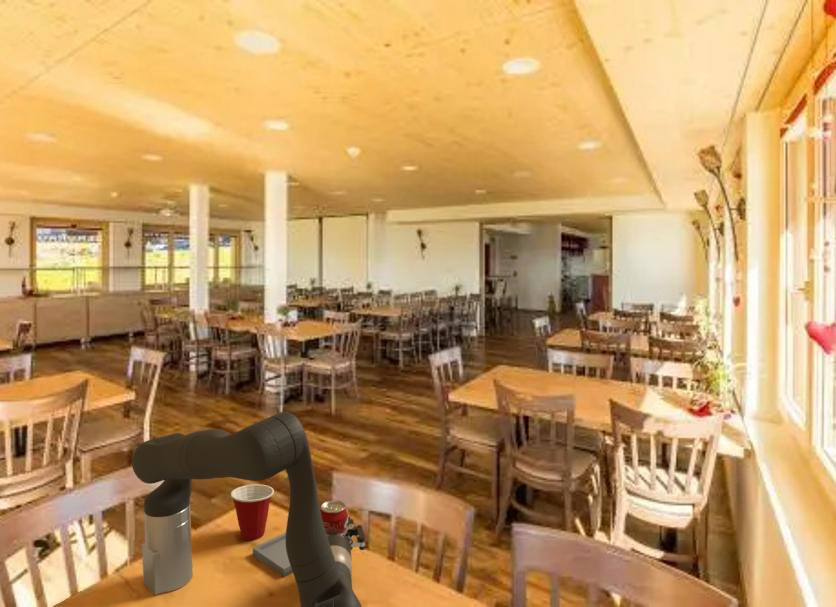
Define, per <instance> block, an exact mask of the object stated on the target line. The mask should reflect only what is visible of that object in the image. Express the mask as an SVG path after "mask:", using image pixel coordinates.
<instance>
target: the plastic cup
mask: <svg viewBox="0 0 836 607" xmlns="http://www.w3.org/2000/svg"><path fill="white" fill-rule="evenodd" d="M274 494H275V490H274V488H273V487H271V486H269V485H265V484H255V483H254V484H246V485H243V486H238V487H236V488H234V489H232V491H231V492H230V495H231V496H230V497H231V498H232V501H233V504H234V508H235V512H236V518H237V523H238V527H239V530H240V536H241V538H242V540H245V541H255V540H258V539H261V537H263V536H264V535H265V532H266V528H267V527H266V525H267V521H268V516H269V515H268V514H269V510H270V503H271V499H272V498H273V497H272V496H273V495H274Z"/></svg>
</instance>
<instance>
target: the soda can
mask: <svg viewBox="0 0 836 607" xmlns="http://www.w3.org/2000/svg"><path fill="white" fill-rule="evenodd" d="M345 503H346V502H343V501H341V500H328V501H325V502H323V503H322V504H321V505H320V511H321V516H322V521H323V525H324V528H325V531H326V533H336V532H340V531H341V530H342V529H343V528H346V527H347V526H348V517H349V511H348V509H347V507H346V506H347V505H346V504H345Z"/></svg>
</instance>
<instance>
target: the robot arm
mask: <svg viewBox="0 0 836 607" xmlns="http://www.w3.org/2000/svg"><path fill="white" fill-rule="evenodd" d="M131 458H132V459H131V467H132V471H133V472H134V475H135V476H136V477H137V478H138V479H139V480H140V481H141V482H142V483H144V484H147V485H151V484H156V483H159V482H161V484H160V485H158V486H157V487H156V488H154V489H153V490H152V491H151V492H150V493H148V494H147V495H146V497H145V499H144V501H143V510H144V511H143V515H144V537H145V541H144V542H143V543H142V544H141V553H142V572H143V573H142V574H143V576H142V577H143V579H142V580H143V585H144V586H145V587H146V588H147V589H148V590H149V591H150V592H151V594H153V595H154V596H157V595H159V594H162V593H169V592H172V591H175V590H178V589H180V588H182V587H184V586H185V585H187V584H188V583H189V582H190V581H191V580H192V579H193V573H194V572H193V555H192V554H193V552H192V550H193V549H192V526H191V525H192V522H191V495H192V488H193V487H192V486H193V485H192V481H193V480H212V479H223V478H232V479H233V478H234V479H238V480H244V481H251V482H252V481H253V482H261V481H265V480H268V479H271V478H273V477H274V476H276V475H278V474H280V473H282V472H283V471H285V470H286V473H287V474H286V475H287V478H288V482H289V506H288V507H289V508H288V515H287V521H286V529H285V532H286V551H287V556H288V559H289V562H290V565H291V568H292V571H293V573H292V574H293V578H294V580H295V583H296V587H297V591H298V592H297V593H298V596H299V597H298V598H299V604H300V607H363V606H362V604H361V602H360V600H359V598H358V597H357V595H356V593H355V592H354V590H353V583H352V582H353V581H352V575H353V562H352V550H353V548H358V549H359V550H360V551H363V550H365V549H366V536H365V532H364V529H363V525H360V524H358V525H356V526H355V525H354V519H353V518H351V517H350V516H348V526H347V527H346V528H343V529H342V530H341V531H340V532H336V533H326V531H325V528H324V525H323V521H322V516H321V511H320V510H321V505H320V501H319V500H320V499H319V494H318V489H317V482H316V476H315V470H314V465H313V460H312V454H311V448H310V444H309V439H308V436H307V433H306V430H305V428H304V426H303V424H302V422H301V421H300V419H299V418H297V416H296V415H294V414H293V413H291V412H287V411H282V412H278V413H275V414H274V415H271V416H269V417H266V418H263V419H261V420H260V421H257V422H255V423H253V424H251V425H248V426H245V427H244V428H241V429H240V430H238V431H236V432H234V433H229V432H228V431H227V430H224V429H220V428H210V429H209V428H208V429H203V430H198V431H194V432H191V433H188V434H183V433H180V432H176V433H172V434H171V433H170V434H168V435H164V436H160V437H156V438H155V437H154V438H153V439H148V440H145V441H144V442H142V443H140V444H139V445H138V446H136V448H135V450H134V452H133V454H132V457H131ZM162 481H163V482H162ZM354 536H355V537H356V538H354ZM353 538H354V540H353Z"/></svg>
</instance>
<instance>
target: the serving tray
mask: <svg viewBox="0 0 836 607" xmlns="http://www.w3.org/2000/svg"><path fill="white" fill-rule="evenodd" d="M252 557H254V558H255V559H257V560H259V561H260V562H261V563H263V564H264V565H265V566H267V567H268V568H270V569H271V570H273V571H275V572H276V573H277V574H278V575H280V576H281V577H283V578H286V577H288V576H289V575H292V574H293V571H292V568H291V565H290V562H289V559H288V556H287V551H286V531H285V532H283V533H281V534H279V535H277V536H275V537H273V538H271V539H268V540H267V541H264V542H262V543H261V544H258V545H255V546H253V547H252Z"/></svg>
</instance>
